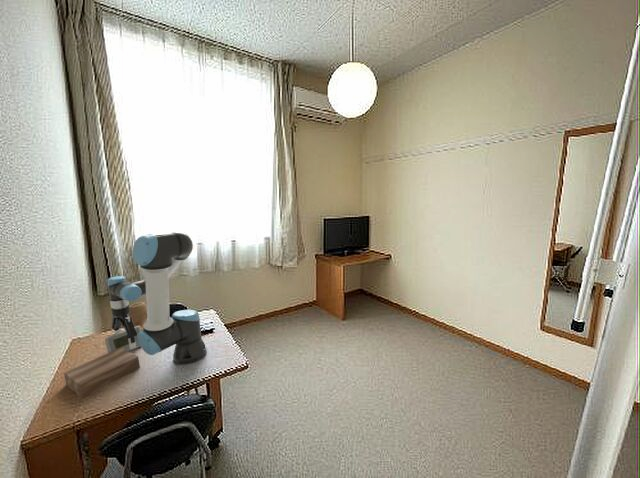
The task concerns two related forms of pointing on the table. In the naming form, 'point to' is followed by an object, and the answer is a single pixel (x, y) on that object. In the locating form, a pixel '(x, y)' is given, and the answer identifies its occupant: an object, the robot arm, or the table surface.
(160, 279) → the robot arm
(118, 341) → the digital clock
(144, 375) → the table surface
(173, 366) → the table surface
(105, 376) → the walnut block
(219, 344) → the table surface
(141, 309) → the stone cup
